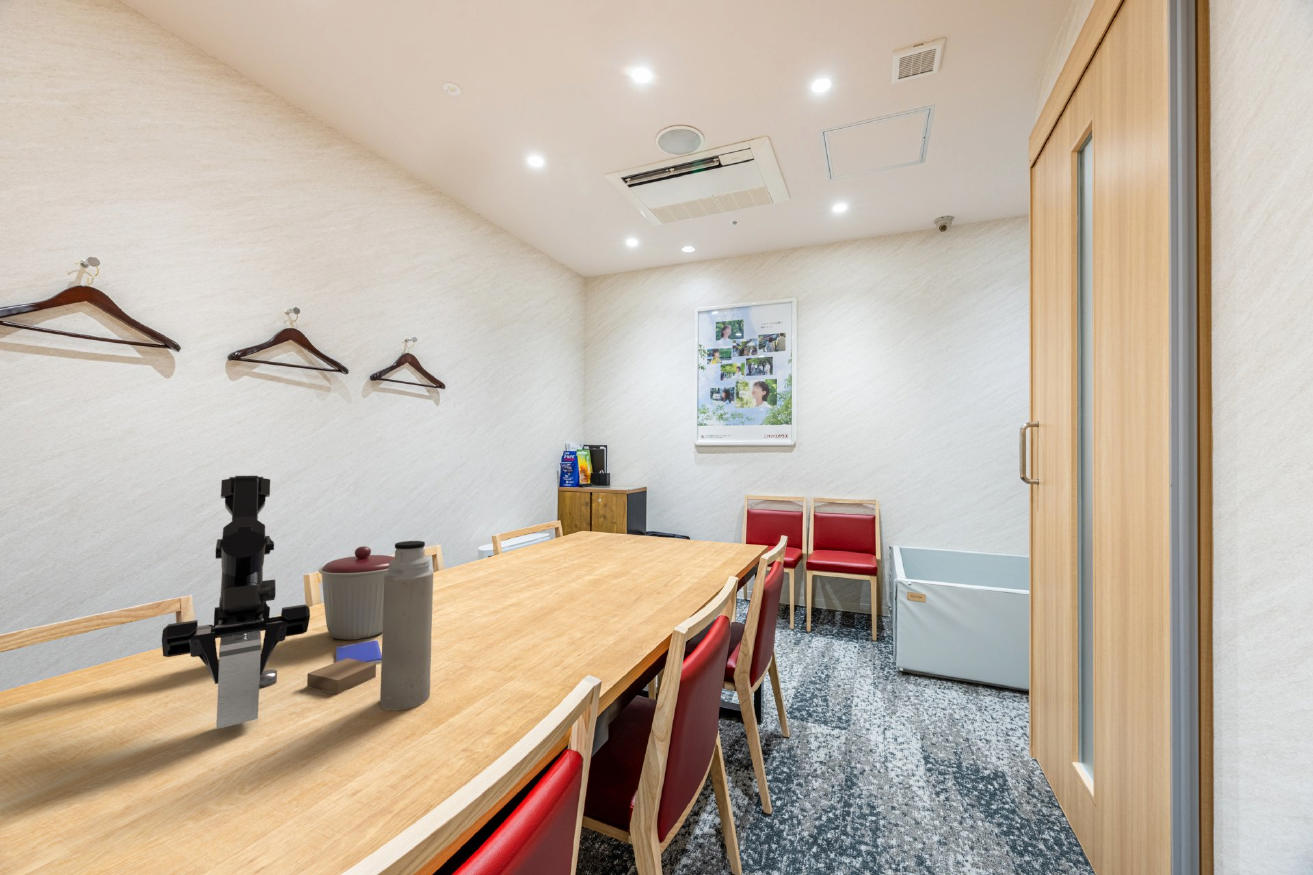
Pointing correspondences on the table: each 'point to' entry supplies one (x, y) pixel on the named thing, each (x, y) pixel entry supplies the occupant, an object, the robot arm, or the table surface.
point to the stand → (341, 675)
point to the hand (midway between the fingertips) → (239, 677)
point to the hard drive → (360, 652)
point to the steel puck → (268, 678)
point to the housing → (238, 678)
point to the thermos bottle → (407, 628)
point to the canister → (355, 594)
